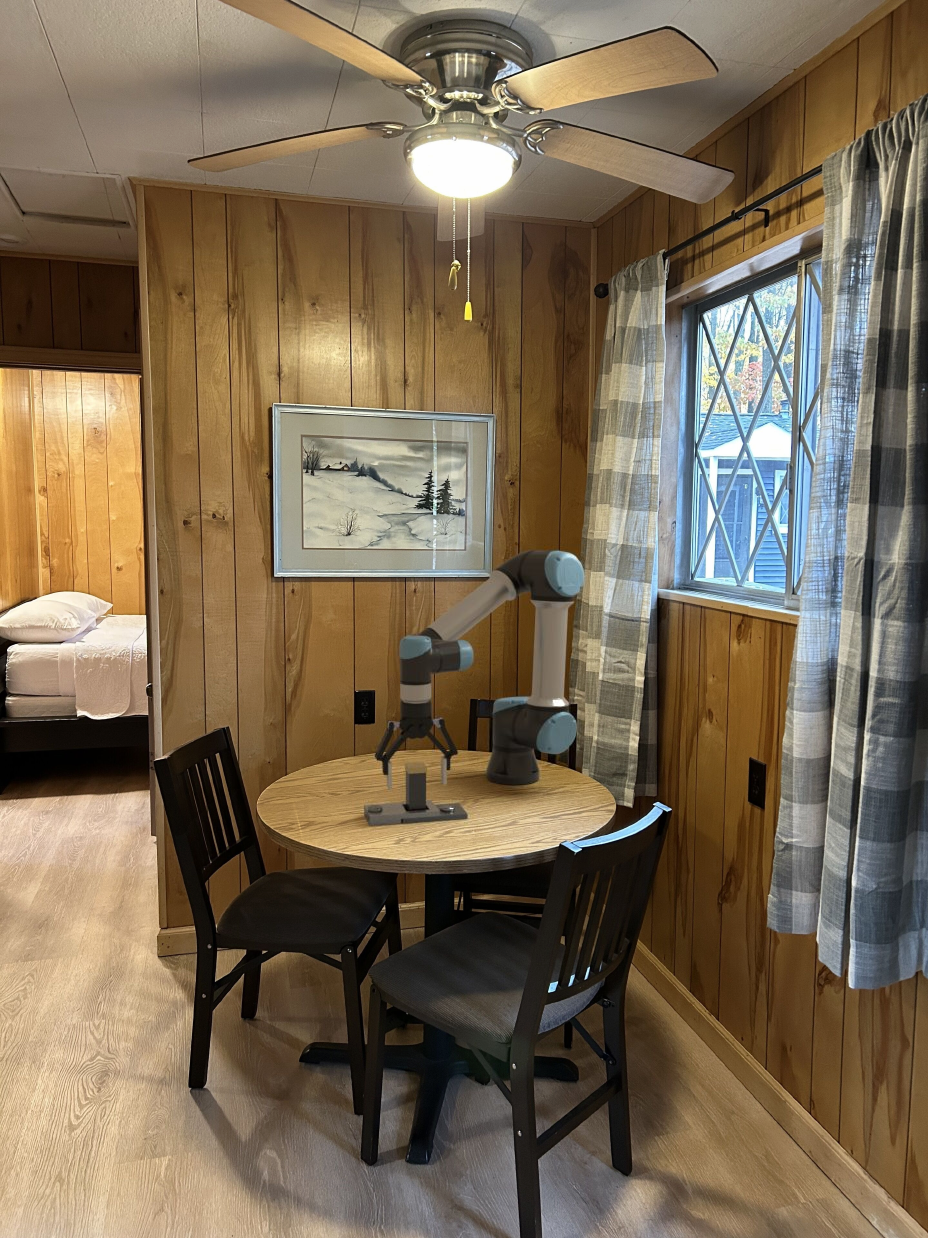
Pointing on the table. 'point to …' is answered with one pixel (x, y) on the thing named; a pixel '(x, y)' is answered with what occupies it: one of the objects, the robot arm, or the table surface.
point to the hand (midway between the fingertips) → (416, 785)
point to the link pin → (415, 786)
